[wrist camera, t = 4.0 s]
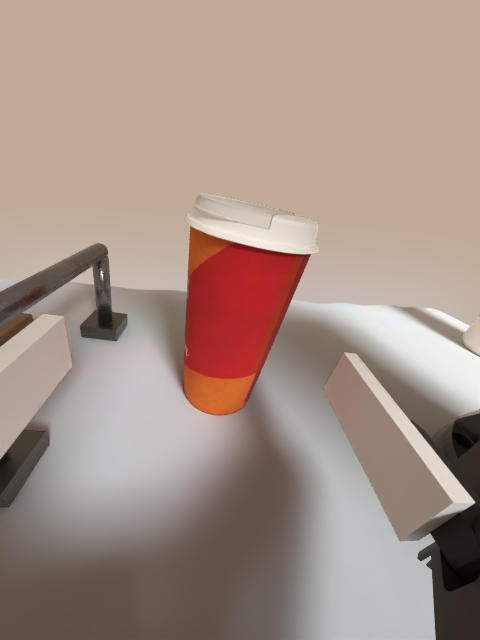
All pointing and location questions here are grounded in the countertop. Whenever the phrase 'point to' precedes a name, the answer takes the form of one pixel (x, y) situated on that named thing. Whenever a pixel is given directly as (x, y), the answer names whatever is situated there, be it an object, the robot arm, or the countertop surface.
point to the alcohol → (473, 337)
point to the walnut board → (14, 327)
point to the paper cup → (237, 294)
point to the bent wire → (22, 456)
